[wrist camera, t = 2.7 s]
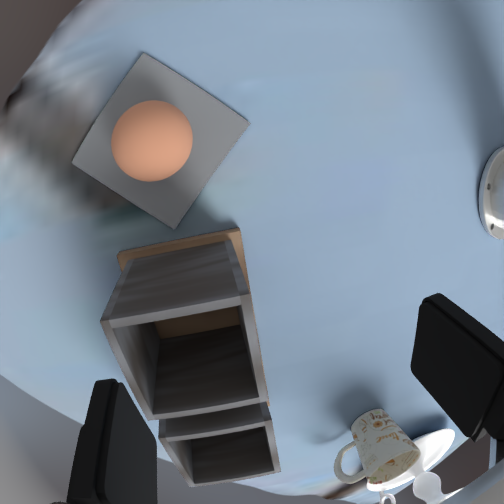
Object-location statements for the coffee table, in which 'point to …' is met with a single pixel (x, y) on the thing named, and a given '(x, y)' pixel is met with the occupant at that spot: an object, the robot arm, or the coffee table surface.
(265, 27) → the coffee table surface
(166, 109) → the ball
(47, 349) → the coffee table surface
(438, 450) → the candlestick
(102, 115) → the mat
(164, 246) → the dark grey boxy container
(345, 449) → the mug
